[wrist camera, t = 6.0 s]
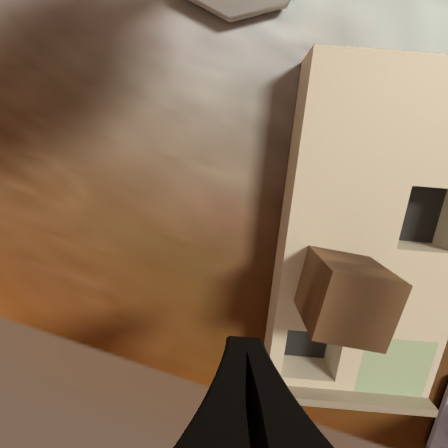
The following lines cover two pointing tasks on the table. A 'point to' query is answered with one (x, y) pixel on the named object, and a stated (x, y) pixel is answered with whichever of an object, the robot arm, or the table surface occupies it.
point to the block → (349, 299)
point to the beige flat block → (367, 220)
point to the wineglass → (240, 8)
